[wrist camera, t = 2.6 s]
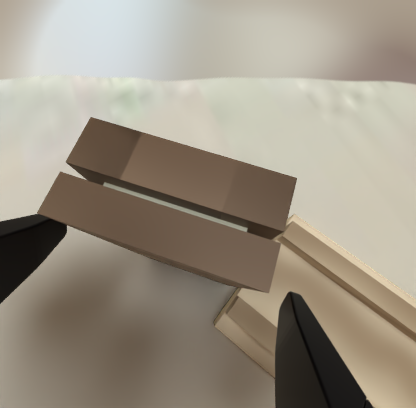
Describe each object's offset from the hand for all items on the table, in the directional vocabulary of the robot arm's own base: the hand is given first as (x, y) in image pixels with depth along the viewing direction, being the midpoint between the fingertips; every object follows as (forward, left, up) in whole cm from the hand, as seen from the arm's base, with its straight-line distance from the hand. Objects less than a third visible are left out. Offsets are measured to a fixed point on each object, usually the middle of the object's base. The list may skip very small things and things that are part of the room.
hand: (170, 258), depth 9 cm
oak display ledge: (+6, -10, -9) cm, 15 cm away
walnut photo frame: (+1, +1, -9) cm, 9 cm away
